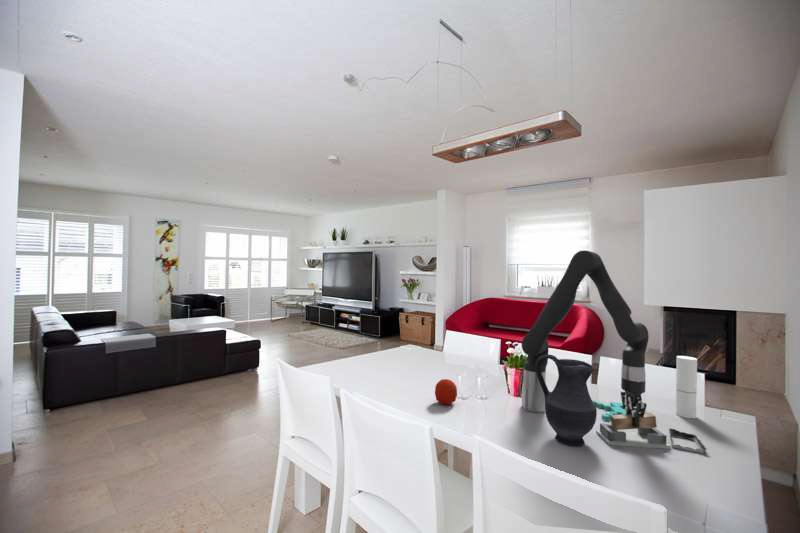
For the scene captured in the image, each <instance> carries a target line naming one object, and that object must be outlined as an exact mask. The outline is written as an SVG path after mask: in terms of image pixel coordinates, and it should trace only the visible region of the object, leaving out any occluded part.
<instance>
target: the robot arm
mask: <svg viewBox="0 0 800 533" xmlns="http://www.w3.org/2000/svg"><path fill="white" fill-rule="evenodd" d="M586 276H588V277H589V278H590V279H591V281H592V282H593V283H594V285H595V287H596V288H597V291H598V295H599V298H600V300H601V302H602V304H603V306H604V308H605V309H606V311H607V312H608V314H609V316H610V317H611V318H612V321H613V325H614V327H615V330H616V332H617V334H618V336H619V337H620V339H622V340H623V341H624V342H626V343H627V344H626V347H625V348H624V349H623V350H622V354H621V355H622V357H621V359H622V360H621V361H622V362H621V374H620V375H621V376H620V379H621V380H620V381H621V382H620V383H621V386H620V388H621V390H623V391H620V397H621V398H620V399H621V403H622V405H623V408H625V411H626V414H632V426H633V427H635V428H639V418H640V417H642V418H643V417H644V414H645V411H646V409H647V407H648V406H647V403H646V402H643V399H642V398H643V397H642V394H645V392H646V376H647V375H646V365H645V364H646V356H645V355H646V351H647V346H648V343H649V338H650V337H649V330H648V328H647V327H646V326H645V324H643V323H642V322H637V321H636V322H634V320H633V318H632V317H631V315H632V309H631V308H630V306H629V304H627V301H626V300H625V299H624V297H623V296H622V295H621V293H620V292H619V290H618V288H617V286H616V285H615V284H614V282H613V280H612V279H611V276H610V275H609V272H608V271H607V268H606V266H605V264H604V260H602V257H601V256H600V255H599V254H598V253H596V252H594V251H590V250H587V249H584V250H579V251H577V252H575V254H574V255H573V256H572V258H571V260H570V262H569V263H568V266H567V268H566V270H565V272H564V274H563V276H562V278H561V279H560V281H559V283H558V285H557V286H556V287H555V289H554V291H553V292H552V294H551V295H550V297H549V299H548V300H547V301H546V304H545V305H544V307H543V308H542V310H541V312H540V313H539V315H538V317H537V319H536V320H535V322H534V324H533V326H532V327H531V328H530V329H529V330H528V332H527V333H526V334H525V336H523V338H522V340H521V348H522V351H523V353H524V354H525V355H527V357H526V359H525V361H524V363H523V383H522V385H521V386H522V387H521V406H522V408H523V410H524V411H528V412H533V413H543V412H545V396H544V392H543V390H542V388H541V385H540V383H539V380H538V377H537V374H536V370H535V364H536V361H537V359H538V358H539V357H541V356H543V355H549V341H548V339H547V338H548V337H549V335H550V333H551V332H552V331H553V330H554V329H556V327H557V326H559V324H560V323H562V322H563V320H564V319H565V318H566V317H567V315H568V313H569V312H570V311H571V309H572V308H573V306H574V303H575V300H576V297H577V290H578V289H579V287H580V284H581V283H582V281H583V279H584V278H585V277H586ZM548 361H549V358H547V359H544V360H542V361H541V362H540V371H541V374H542V376H543V379H544V381H545V383H546V378H547V376H546V375H547V372H546V371H547V365H548V363H549V362H548ZM634 407H636V408H634ZM635 410H636V411H635Z"/></svg>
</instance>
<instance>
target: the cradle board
mask: <svg viewBox="0 0 800 533" xmlns="http://www.w3.org/2000/svg"><path fill="white" fill-rule="evenodd" d="M624 432H625V433H626V442H620V441H609V440H608V439H607V438H606V437H605V436H604V435H603V434H602V433H601V432H600V429H596V430H595V434H597V435H598V436H599V437H600V438H601V439H602V440H603V441H604V443H606V444H607V445H609V446H620V447H621V446H622V447H623V446H624V447H635V448H637V447H638V448H639V447H640V448H650V449H651V448H652V449H653V448H655V449H665V450H667V449H668V450H671V449H672V446H671V444H669V443H668V442H666V444H651V443H649V442H647V437H648V436H641V435H639V434H638V432H632V431H624Z"/></svg>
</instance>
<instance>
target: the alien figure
mask: <svg viewBox="0 0 800 533" xmlns="http://www.w3.org/2000/svg"><path fill="white" fill-rule="evenodd" d="M592 401H593V402H594V404H595V406H596V408H598V409H603V410H604V411H609V412H606V413H604V414H601V420H603V421H604V422H605V421H606V422H611V416H610V415H622V414H626V411H625V408H623V405H622V402H615V401H614V402H613V401H609V402H610V405H609V404H605V403H603V402H600V401H599V402H597V401H596V400H593V399H592ZM634 408H636V407H634ZM635 411H636V410H635ZM645 413H648V412H647V411H646V410H645Z"/></svg>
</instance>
